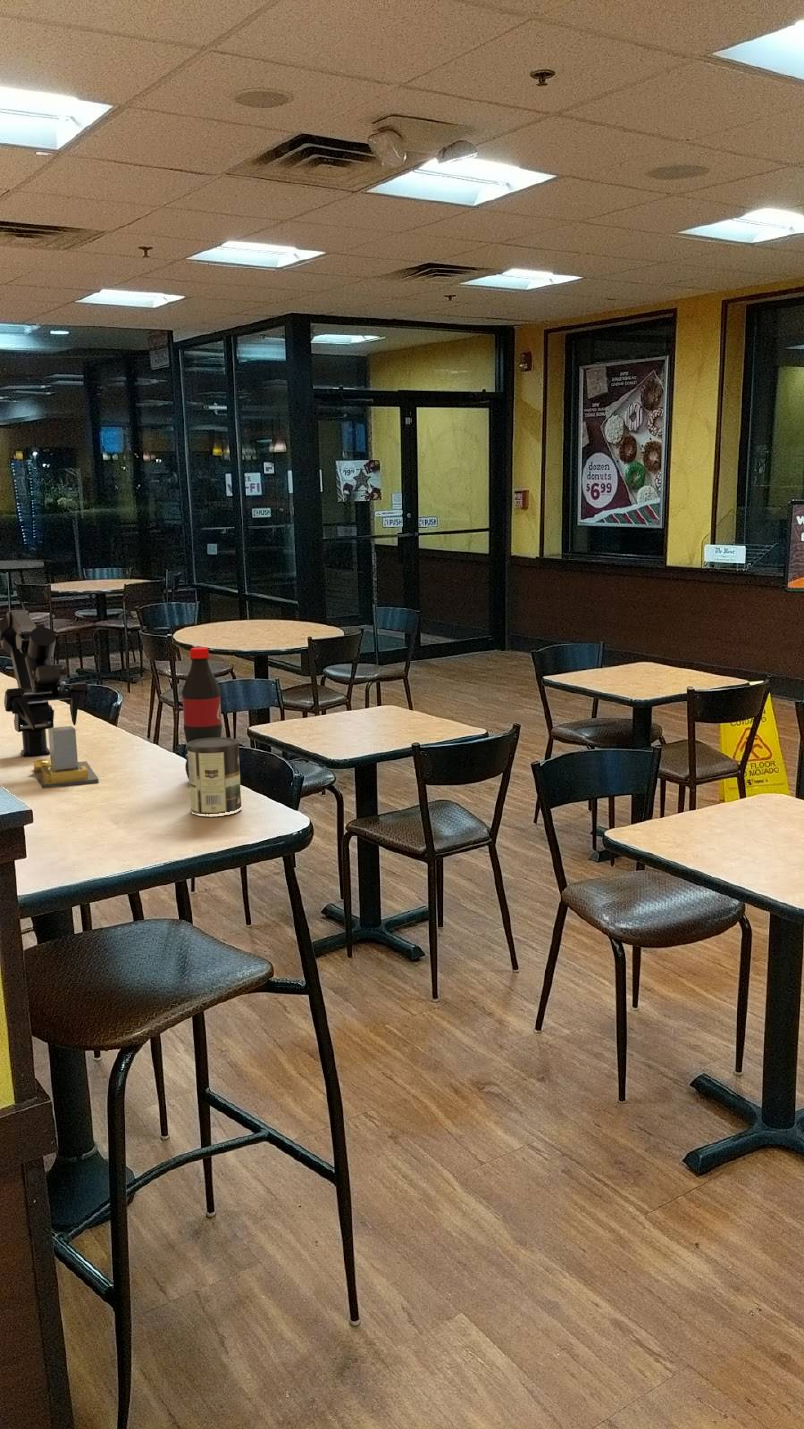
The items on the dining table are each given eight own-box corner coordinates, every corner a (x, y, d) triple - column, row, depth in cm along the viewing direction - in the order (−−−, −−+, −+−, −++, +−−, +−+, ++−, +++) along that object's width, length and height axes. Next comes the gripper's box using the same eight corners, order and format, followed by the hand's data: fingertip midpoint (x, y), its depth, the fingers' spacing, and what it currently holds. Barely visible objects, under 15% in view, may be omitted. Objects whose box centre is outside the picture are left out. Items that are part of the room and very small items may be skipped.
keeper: (32, 769, 256) (31, 758, 255) (86, 764, 260) (85, 753, 260) (40, 788, 237) (40, 776, 237) (98, 782, 242) (97, 770, 242)
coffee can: (231, 801, 225) (228, 734, 222) (249, 813, 216) (246, 743, 213) (182, 808, 220) (179, 740, 217) (199, 820, 211) (196, 749, 208)
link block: (51, 775, 246) (48, 728, 244) (74, 773, 248) (70, 725, 246) (55, 779, 242) (52, 731, 240) (78, 777, 244) (75, 729, 242)
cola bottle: (228, 776, 246) (223, 645, 241) (218, 785, 238) (212, 649, 233) (192, 776, 247) (186, 645, 242) (181, 785, 239) (174, 649, 234)
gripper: (2, 654, 246) (15, 709, 239) (85, 648, 255) (100, 702, 248) (-1, 683, 255) (11, 738, 247) (79, 677, 264) (93, 729, 256)
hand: (54, 726), depth 249 cm, fingers open, 9 cm apart
